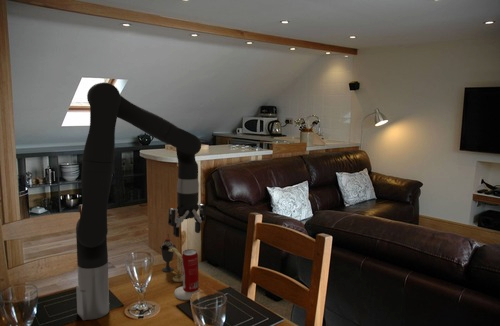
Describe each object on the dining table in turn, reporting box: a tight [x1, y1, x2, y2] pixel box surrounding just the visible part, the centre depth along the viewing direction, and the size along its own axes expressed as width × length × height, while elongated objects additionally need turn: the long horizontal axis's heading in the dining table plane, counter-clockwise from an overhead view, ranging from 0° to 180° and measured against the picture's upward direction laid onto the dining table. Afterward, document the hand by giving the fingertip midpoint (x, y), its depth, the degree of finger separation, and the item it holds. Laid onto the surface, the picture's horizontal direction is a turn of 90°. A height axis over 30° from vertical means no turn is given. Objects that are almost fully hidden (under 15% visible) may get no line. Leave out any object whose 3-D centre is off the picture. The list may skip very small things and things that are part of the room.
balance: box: [169, 247, 183, 283], centre depth 156 cm, size 5×13×12 cm, turn 41°
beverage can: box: [181, 249, 200, 293], centre depth 145 cm, size 6×6×15 cm
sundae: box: [159, 233, 177, 273], centre depth 165 cm, size 7×7×15 cm
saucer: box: [174, 285, 200, 301], centre depth 145 cm, size 9×9×1 cm
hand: (187, 234), depth 142 cm, fingers open, 8 cm apart
